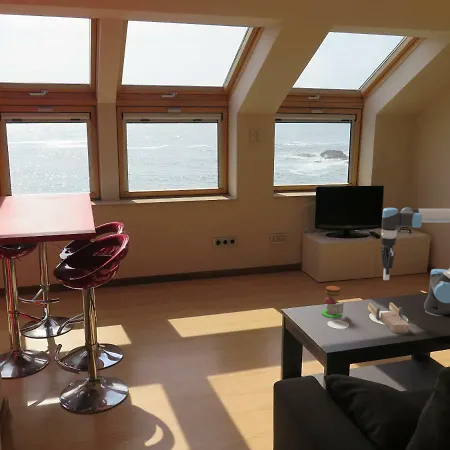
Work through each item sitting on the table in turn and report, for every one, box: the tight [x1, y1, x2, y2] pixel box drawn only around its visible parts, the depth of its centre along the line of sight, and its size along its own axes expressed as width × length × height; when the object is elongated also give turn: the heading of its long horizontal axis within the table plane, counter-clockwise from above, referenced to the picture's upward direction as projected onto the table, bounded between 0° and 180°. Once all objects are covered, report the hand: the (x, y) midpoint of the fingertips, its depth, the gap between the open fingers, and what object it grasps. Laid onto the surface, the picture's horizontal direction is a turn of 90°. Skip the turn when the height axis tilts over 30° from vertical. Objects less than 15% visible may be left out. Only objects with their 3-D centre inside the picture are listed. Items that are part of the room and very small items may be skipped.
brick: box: [379, 311, 410, 334], centre depth 254 cm, size 17×8×5 cm, turn 6°
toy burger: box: [321, 285, 345, 319], centre depth 267 cm, size 12×13×15 cm
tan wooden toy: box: [367, 302, 403, 320], centre depth 268 cm, size 14×13×6 cm
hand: (386, 279), depth 267 cm, fingers closed
